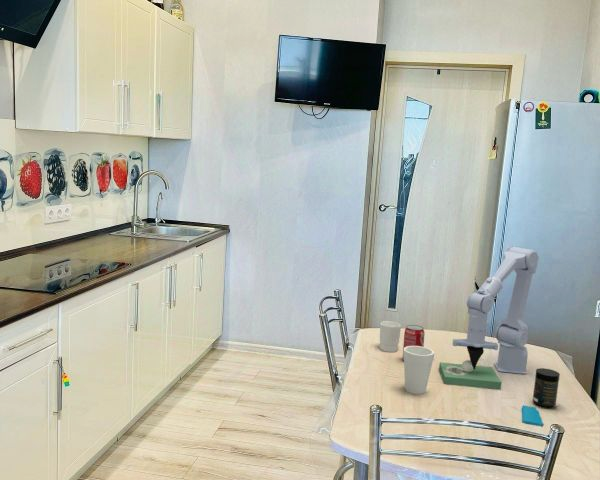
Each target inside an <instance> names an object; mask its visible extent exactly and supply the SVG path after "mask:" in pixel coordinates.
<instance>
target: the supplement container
mask: <svg viewBox="0 0 600 480" xmlns="http://www.w3.org/2000/svg"><path fill="white" fill-rule="evenodd" d="M534 375H535V377H534V385H533V394H532V403H533V404H534V405H535V406H537V407H539V408H543V409H548V410H549V409H554V408H555V407H556V405H557V396H558V389H559V382H560V376H561V375H560V372H559V371H557V370H554V369H550V368H543V367H539V368H537V369H536V370H535V374H534Z"/></svg>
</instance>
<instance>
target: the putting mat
mask: <svg viewBox="0 0 600 480" xmlns="http://www.w3.org/2000/svg"><path fill="white" fill-rule="evenodd" d="M438 365H439V366H438V371H439V373H440V376H441V379H442V381H443V385H452V386H459V387H460V386H462V387H471V388H481V389H492V390H500V391H501V388H502V381H501V380H500V377H499V376H498V374H497V372H496V371H495V370H494V367H492V366H484V365H483V366H482V365H476V367H475V369H473V371H471V372H465V371H464V370H463V369H462V363H452V362H451V363H450V362H441V361H440V362H439V364H438Z"/></svg>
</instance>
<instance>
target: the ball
mask: <svg viewBox="0 0 600 480" xmlns="http://www.w3.org/2000/svg"><path fill="white" fill-rule="evenodd" d="M461 364H462V369H463V370H464V371H465V372H471V371H473V366H472V362H471V361H470V359H469V360H468V359H467V360H464V361H462V363H461Z"/></svg>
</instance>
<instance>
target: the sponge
mask: <svg viewBox="0 0 600 480" xmlns="http://www.w3.org/2000/svg"><path fill="white" fill-rule="evenodd" d="M521 423H523V424H525V425H526V424H527V425H532V426H536V427H537V426H538V427H543V426H544V422H543V420H542V417H541V414H540V411H539V410H538V409H537V408H536V406H535V407H534V406H528V405H522V406H521Z"/></svg>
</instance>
